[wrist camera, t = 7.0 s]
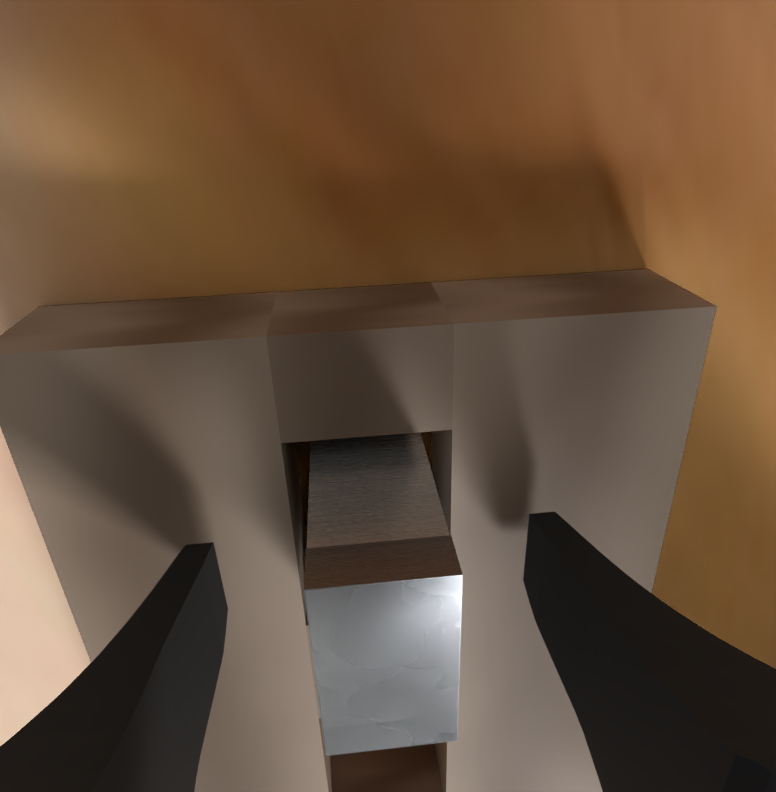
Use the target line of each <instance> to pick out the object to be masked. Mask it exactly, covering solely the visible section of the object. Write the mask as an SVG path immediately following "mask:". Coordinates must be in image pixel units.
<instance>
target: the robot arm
mask: <svg viewBox="0 0 776 792" xmlns="http://www.w3.org/2000/svg"><path fill="white" fill-rule="evenodd" d="M523 582H524V585H525V589H526V592H527V596H528V599H529V602H530V606H531V609H532V612H533V615H534V618H535V621H536V624H537V626H538V629H539V631H540V633H541V636H542V638H543V640H544V642H545V645H546V647H547V649H548V652H549V654H550V656H551V658H552V661H553V663H554V665H555V667H556V670H557V672H558V674H559V676H560V679H561V681H562V683H563V685H564V688H565V690H566V692H567V695H568V697H569V699H570V701H571V704H572V706H573V708H574V710H575V713H576V715H577V718H578V720H579V723H580V725H581V728H582V730H583V733H584V736H585V739H586V742H587V745H588V748H589V751H590V754H591V757H592V760H593V763H594V766H595V769H596V772H597V775H598V778H599V781H600V784H601V788H602V791H603V792H776V669H774V668H772V667H770V666H769V665H767V664H765V663H763V662H761V661H759V660H757V659H755V658H753V657H751V656H749V655H748V654H746V653H744V652H742V651H740V650H739V649H737V648H735V647H733V646H732V645H730V644H728V643H726V642H724V641H723V640H721V639H719V638H718V637H716V636H714V635H713V634H711V633H709V632H708V631H706V630H704V629H703V628H701V627H700V626H698V625H697V624H695V623H693V622H692V621H690V620H689V619H687V618H686V617H684V616H683V615H681V614H680V613H678V612H677V611H675V610H674V609H672V608H671V607H669V606H668V605H667V604H665V603H664V602H662V601H661V600H659V599H658V598H657V597H656V596H654V595H653V594H652V593H650V592H649V591H648V590H646V589H645V588H644V587H642V586H641V585H640V584H638V583H637V582H636V581H634V580H633V579H632V578H631V577H629V576H628V575H627V574H626V573H624V572H623V571H622V570H621V569H620V568H618V567H617V566H616V565H615V564H614V563H612V562H611V561H610V560H609V559H608V558H607V557H605V556H604V555H603V554H602V553H601V552H600V551H598V550H597V549H596V548H595V547H594V546H593V545H592V544H591V543H589V542H588V541H587V540H586V539H585V538H584V537H583V536H582V535H581V534H579V533H578V532H577V531H576V530H575V529H574V528H573V527H572V526H571V525H570V524H568V523H567V522H566V521H565V520H564V519H563V518H562V517H561V516H560V515H558V514H557V513H556V512H543V513H532V514H529V521H528V532H527V543H526V554H525V565H524V576H523ZM227 615H228V606H227V602H226V597H225V593H224V588H223V583H222V579H221V574H220V570H219V565H218V560H217V556H216V551H215V547H214V542H211V543H200V544H188V545H185V546H184V547H183V548H182V549H181V551H180V552H179V554H178V555H177V556H176V558H175V559H174V561H173V562H172V563H171V565H170V566H169V567H168V569H167V570H166V572H165V573H164V574H163V576H162V577H161V578H160V580H159V581H158V582H157V584H156V585H155V587H154V588H153V589H152V591H151V592H150V593H149V594H148V596H147V597H146V598H145V600H144V601H143V602H142V603H141V605H140V606H139V607H138V608H137V610H136V611H135V612H134V614H133V615H132V616H131V617H130V619H129V620H128V621H127V622H126V624H125V625H124V626H123V627H122V628H121V629H120V631H119V632H118V633H117V634H116V635H115V636H114V637H113V639H112V640H111V641H110V642H109V643H108V644H107V646H106V647H105V648H104V649H103V650H102V651H101V653H100V654H99V655H98V656H97V657H96V658H95V659H94V660H93V661H92V662H91V663H90V664H89V666H88V667H87V668H86V669H85V670H84V671H83V672H82V673H81V674H80V675H79V676H78V677H77V678H76V679H75V680H74V681H73V682H72V683H71V684H70V685H69V686H68V687H67V688H66V689H65V690H64V691H63V692H62V693H61V694H60V695H59V696H58V697H57V698H56V699H55V700H53V701H52V702H51V703H50V704H49V705H48V706H47V707H46V708H45V709H43V710H42V711H41V712H40V713H39V714H38V715H37V716H36V717H34V718H33V719H32V720H31V721H30V722H29V723H28V724H26V725H25V726H24V727H23V728H22V729H21V730H20V731H19V732H17V733H16V734H15V735H14V736H13V737H12V738H10V739H9V740H8V741H7V742H5V743H4V744H3V745H2V746H0V792H194V791H195V783H196V776H197V771H198V766H199V760H200V755H201V750H202V746H203V742H204V737H205V733H206V729H207V724H208V720H209V715H210V711H211V707H212V702H213V698H214V694H215V689H216V685H217V680H218V676H219V671H220V667H221V662H222V658H223V653H224V644H225V636H226V626H227Z"/></svg>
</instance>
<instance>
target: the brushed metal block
mask: <svg viewBox="0 0 776 792" xmlns="http://www.w3.org/2000/svg"><path fill="white" fill-rule="evenodd" d="M462 580H463V574H462V571H461V567H460V564H459V560H458V557H457V553H456V550H455V546H454V543H453V540H452V536H451V535H450V534H449V530H448V527H447V523H446V520H445V516H444V513H443V509H442V506H441V502H440V499H439V495H438V492H437V488H436V485H435V481H434V478H433V474H432V471H431V467H430V464H429V460H428V457H427V453H426V450H425V446H424V443H423V439H422V436H421V432H417V433H405V434H392V435H379V436H367V437H354V438H342V439H329V440H316V441H311V446H310V472H309V499H308V525H307V548H306V549H305V570H304V596H305V604H306V611H307V618H308V626H309V633H310V641H311V648H312V656H313V663H314V671H315V678H316V686H317V693H318V701H319V708H320V715H321V723H322V730H323V738H324V745H325V753H326V756H330V755H339V754H348V753H356V752H365V751H373V750H382V749H391V748H399V747H408V746H416V745H425V744H434V743H442V742H451V741H458V710H459V677H460V645H461V612H462Z"/></svg>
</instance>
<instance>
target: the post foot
mask: <svg viewBox="0 0 776 792" xmlns="http://www.w3.org/2000/svg"><path fill="white" fill-rule="evenodd" d="M716 308H717V306H715V305H713V304H711V303H710V302H708V301H706V300H704V299H702V298H700V297H699V296H697V295H695V294H693V293H691V292H689V291H688V290H686V289H684V288H682V287H680V286H678V285H677V284H675V283H673V282H671V281H669V280H667V279H665V278H664V277H662V276H660V275H658V274H656V273H654V272H653V271H651V270H649V269H639V270H623V271H606V272H590V273H574V274H558V275H542V276H526V277H510V278H493V279H477V280H461V281H445V282H429V283H413V284H396V285H380V286H364V287H348V288H332V289H316V290H299V291H283V292H267V293H251V294H235V295H219V296H202V297H186V298H170V299H154V300H138V301H122V302H105V303H89V304H73V305H57V306H41V307H38V308H37V309H36V310H34V311H33V312H32V313H30V314H29V315H28V316H26V317H25V318H24V319H22V320H21V321H20V322H18V323H17V324H16V325H14V326H13V327H12V328H10V329H9V330H8V331H6V332H5V333H4V334H2V335H1V336H0V427H1V429H2V432H3V434H4V437H5V440H6V442H7V445H8V447H9V450H10V453H11V455H12V458H13V460H14V463H15V466H16V468H17V471H18V473H19V476H20V479H21V481H22V484H23V486H24V489H25V492H26V494H27V497H28V499H29V502H30V505H31V507H32V510H33V512H34V515H35V518H36V520H37V523H38V525H39V528H40V531H41V533H42V536H43V538H44V541H45V544H46V546H47V549H48V551H49V554H50V557H51V559H52V562H53V564H54V567H55V570H56V572H57V575H58V577H59V580H60V583H61V585H62V588H63V590H64V593H65V596H66V598H67V601H68V603H69V606H70V609H71V611H72V614H73V616H74V619H75V622H76V624H77V627H78V629H79V632H80V635H81V637H82V640H83V642H84V645H85V648H86V650H87V653H88V655H89V658H90V661H91V662H92V661H93V660H94V659H95V658H96V657H97V656H98V655H99V654H100V653H101V651H102V650H103V649H104V648H105V647H106V646H107V644H108V643H109V642H110V641H111V640H112V639H113V637H114V636H115V635H116V634H117V633H118V632H119V631H120V629H121V628H122V627H123V626H124V625H125V624H126V622H127V621H128V620H129V619H130V617H131V616H132V615H133V614H134V612H135V611H136V610H137V608H138V607H139V606H140V605H141V603H142V602H143V601H144V600H145V598H146V597H147V596H148V594H149V593H150V592H151V591H152V589H153V588H154V587H155V585H156V584H157V582H158V581H159V580H160V578H161V577H162V576H163V574H164V573H165V572H166V570H167V569H168V567H169V566H170V565H171V563H172V562H173V561H174V559H175V558H176V556H177V555H178V554H179V552H180V551H181V549H182V548H183V547H184V546H185V545H188V544H200V543H211V542H214V547H215V551H216V556H217V560H218V565H219V570H220V574H221V579H222V583H223V588H224V593H225V597H226V602H227V606H228V615H227V626H226V636H225V644H224V653H223V658H222V662H221V667H220V671H219V676H218V680H217V685H216V689H215V694H214V698H213V702H212V707H211V711H210V715H209V720H208V724H207V729H206V733H205V737H204V742H203V746H202V750H201V755H200V760H199V766H198V771H197V776H196V783H195V791H194V792H603V791H602V788H601V784H600V781H599V778H598V775H597V772H596V769H595V766H594V763H593V760H592V757H591V754H590V751H589V748H588V745H587V742H586V739H585V736H584V733H583V730H582V728H581V725H580V723H579V720H578V718H577V715H576V713H575V710H574V708H573V706H572V704H571V701H570V699H569V697H568V695H567V692H566V690H565V688H564V685H563V683H562V681H561V679H560V676H559V674H558V672H557V670H556V667H555V665H554V663H553V661H552V658H551V656H550V654H549V652H548V649H547V647H546V645H545V642H544V640H543V638H542V636H541V633H540V631H539V629H538V626H537V624H536V621H535V618H534V615H533V612H532V609H531V606H530V602H529V599H528V596H527V592H526V589H525V585H524V582H523V576H524V565H525V554H526V543H527V532H528V521H529V514H532V513H543V512H556V513H557V514H558V515H560V516H561V517H562V518H563V519H564V520H565V521H566V522H567V523H568V524H570V525H571V526H572V527H573V528H574V529H575V530H576V531H577V532H578V533H579V534H581V535H582V536H583V537H584V538H585V539H586V540H587V541H588V542H589V543H591V544H592V545H593V546H594V547H595V548H596V549H597V550H598V551H600V552H601V553H602V554H603V555H604V556H605V557H607V558H608V559H609V560H610V561H611V562H612V563H614V564H615V565H616V566H617V567H618V568H620V569H621V570H622V571H623V572H624V573H626V574H627V575H628V576H629V577H631V578H632V579H633V580H634V581H636V582H637V583H638V584H640V585H641V586H642V587H644V588H645V589H646V590H648V591H649V592H650V593H652V589H653V584H654V580H655V575H656V571H657V567H658V562H659V558H660V554H661V549H662V545H663V540H664V536H665V532H666V527H667V523H668V518H669V514H670V510H671V505H672V501H673V496H674V492H675V488H676V483H677V479H678V474H679V470H680V466H681V461H682V457H683V453H684V448H685V444H686V439H687V435H688V431H689V426H690V422H691V417H692V413H693V409H694V404H695V400H696V395H697V391H698V387H699V382H700V378H701V373H702V369H703V365H704V360H705V356H706V351H707V347H708V343H709V338H710V334H711V330H712V325H713V321H714V316H715V312H716ZM430 431H431V471H432V474H433V478H434V481H435V485H436V488H437V492H438V495H439V499H440V502H441V506H442V509H443V513H444V516H445V520H446V523H447V527H448V530H449V534H450V535H451V536H452V540H453V543H454V546H455V550H456V553H457V557H458V560H459V564H460V567H461V571H462V574H463V580H462V612H461V645H460V677H459V710H458V741H451V742H442V743H434V744H425V745H416V746H408V747H399V748H391V749H382V750H373V751H365V752H356V753H348V754H339V755H330V756H326V753H325V745H324V738H323V730H322V723H321V715H320V708H319V701H318V693H317V686H316V678H315V671H314V663H313V656H312V648H311V641H310V633H309V626H308V618H307V611H306V604H305V596H304V570H305V549H306V548H307V531H306V523H305V515H304V507H303V499H302V491H301V483H300V475H299V467H298V459H297V451H296V443H295V442H304V441H316V440H329V439H342V438H354V437H367V436H379V435H392V434H405V433H417V432H430Z"/></svg>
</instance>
